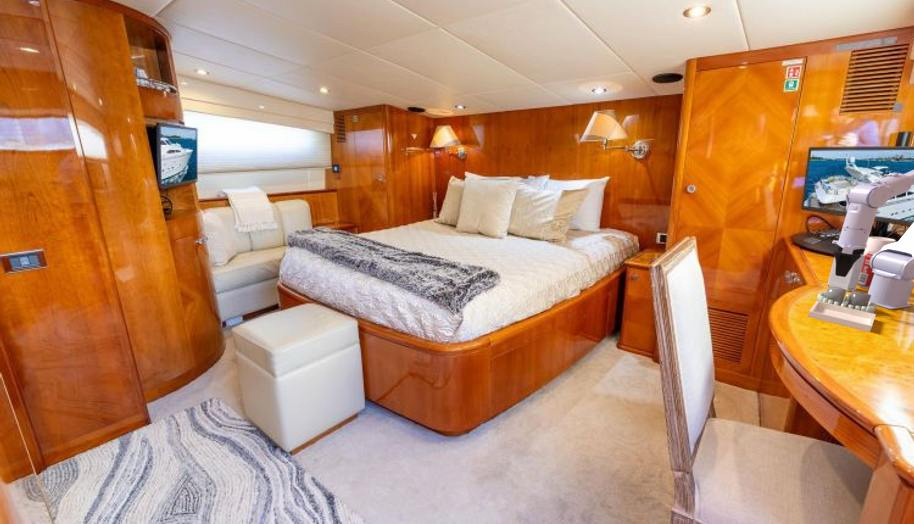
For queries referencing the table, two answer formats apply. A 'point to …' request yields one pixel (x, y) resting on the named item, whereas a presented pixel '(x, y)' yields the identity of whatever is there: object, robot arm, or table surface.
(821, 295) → the celadon bowl
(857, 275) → the skincare box
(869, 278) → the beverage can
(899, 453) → the table surface
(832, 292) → the pebble slate
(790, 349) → the table surface
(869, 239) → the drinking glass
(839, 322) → the parts tray
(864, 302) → the pebble charcoal
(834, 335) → the table surface
